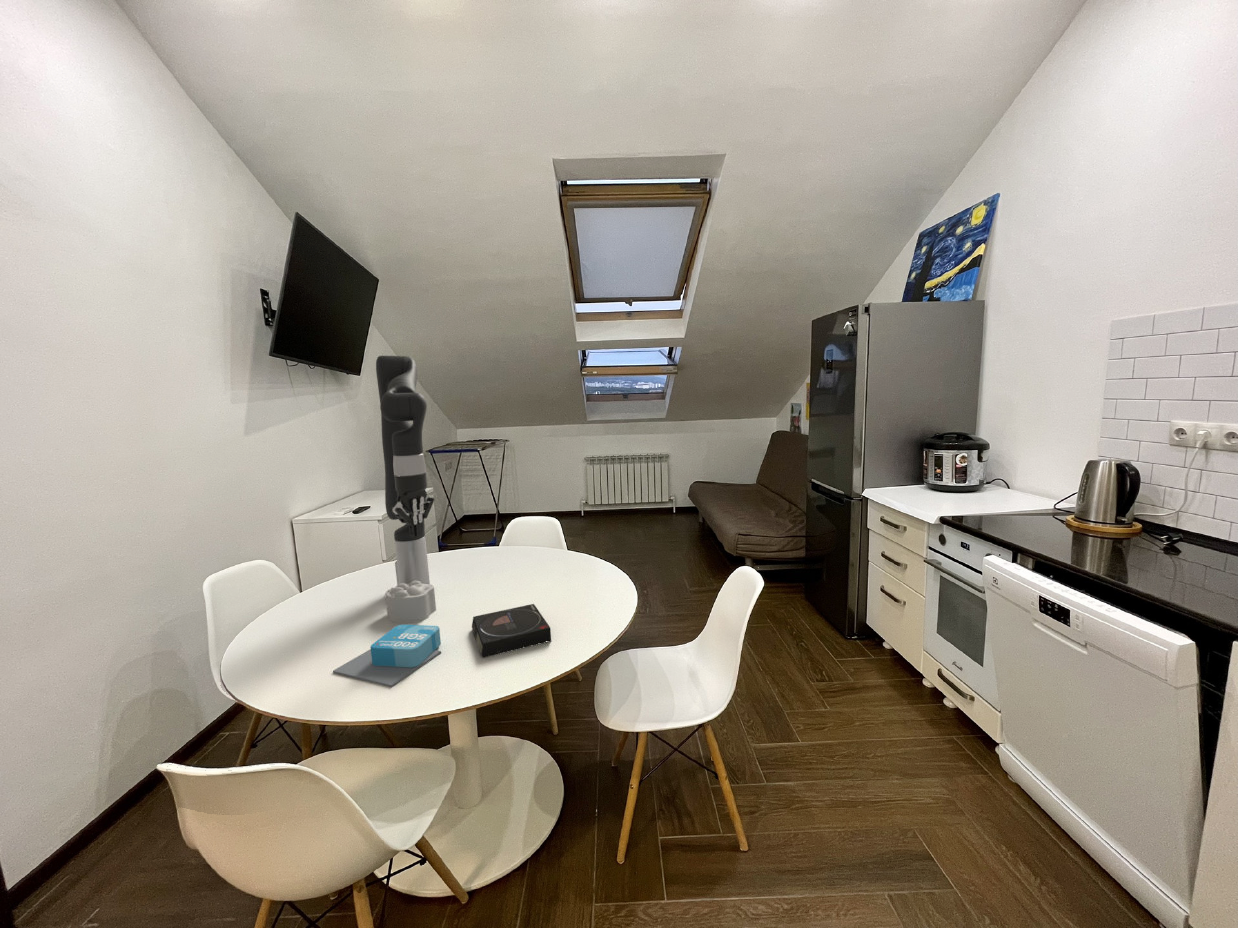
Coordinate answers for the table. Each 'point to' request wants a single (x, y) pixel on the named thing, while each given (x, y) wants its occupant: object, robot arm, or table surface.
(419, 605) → the bumpy-topped grey block
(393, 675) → the mat
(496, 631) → the portable cd player
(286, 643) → the table surface
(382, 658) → the data package
